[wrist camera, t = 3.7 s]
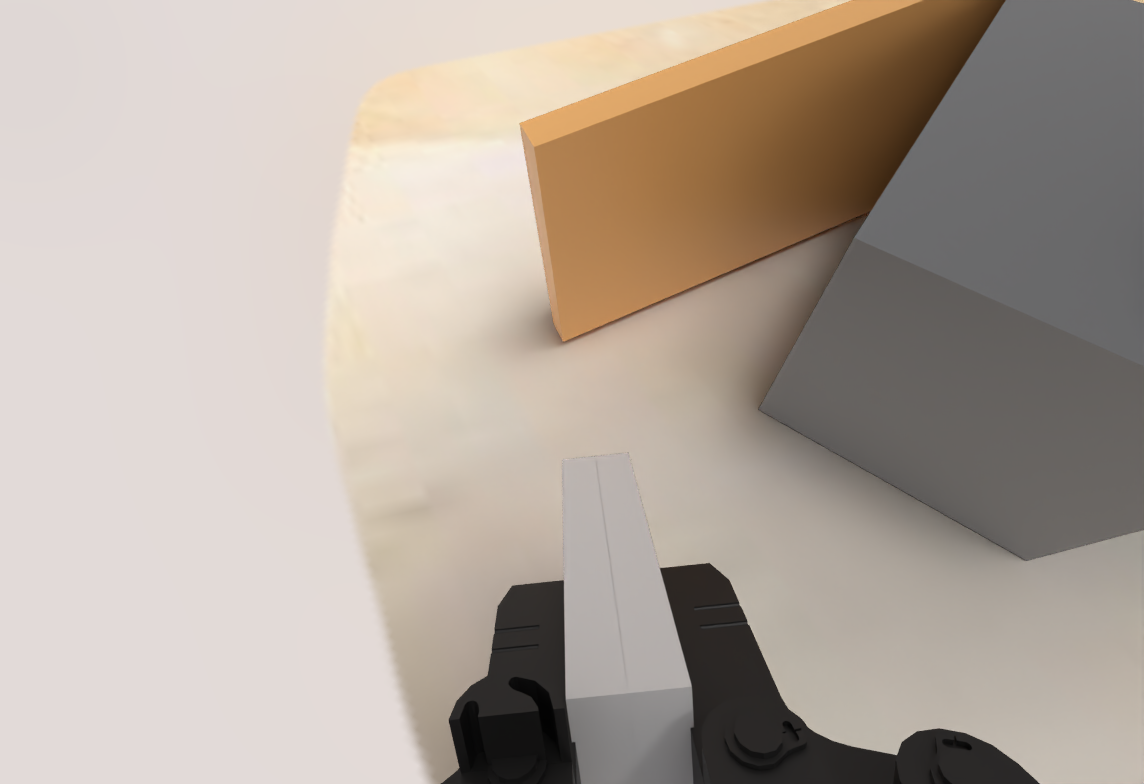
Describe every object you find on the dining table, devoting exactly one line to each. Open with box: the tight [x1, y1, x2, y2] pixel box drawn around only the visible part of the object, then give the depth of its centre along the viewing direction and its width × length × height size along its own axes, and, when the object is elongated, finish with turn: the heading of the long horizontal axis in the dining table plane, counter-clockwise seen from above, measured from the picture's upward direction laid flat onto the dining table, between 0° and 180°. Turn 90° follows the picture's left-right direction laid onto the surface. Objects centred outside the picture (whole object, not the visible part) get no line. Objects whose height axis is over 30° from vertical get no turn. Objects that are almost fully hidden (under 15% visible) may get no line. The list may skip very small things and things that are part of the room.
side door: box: [520, 0, 1006, 342], centre depth 21 cm, size 16×2×10 cm, turn 114°
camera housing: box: [758, 0, 1144, 561], centre depth 19 cm, size 14×10×11 cm
